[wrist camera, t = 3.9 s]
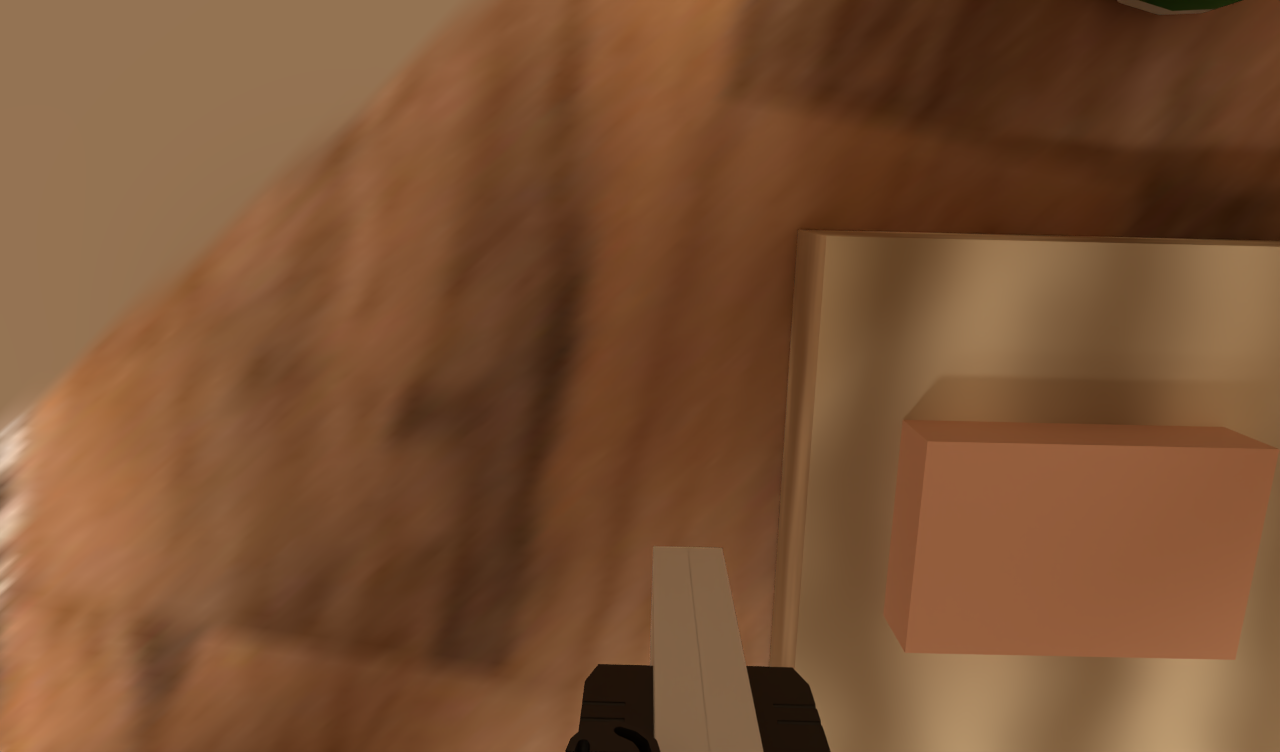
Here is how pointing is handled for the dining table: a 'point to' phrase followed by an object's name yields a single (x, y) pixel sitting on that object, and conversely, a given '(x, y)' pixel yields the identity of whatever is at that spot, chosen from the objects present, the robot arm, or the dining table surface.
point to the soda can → (1177, 5)
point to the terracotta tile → (1075, 538)
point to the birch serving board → (1012, 392)
